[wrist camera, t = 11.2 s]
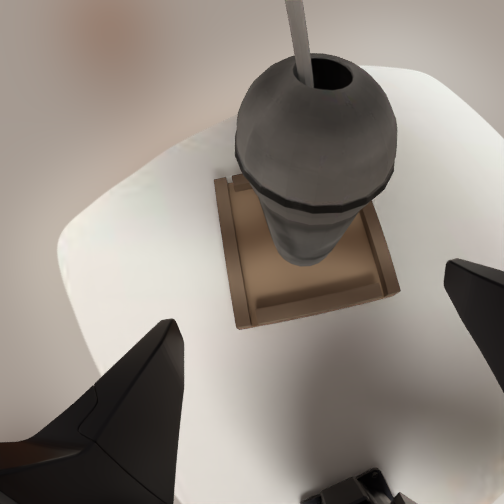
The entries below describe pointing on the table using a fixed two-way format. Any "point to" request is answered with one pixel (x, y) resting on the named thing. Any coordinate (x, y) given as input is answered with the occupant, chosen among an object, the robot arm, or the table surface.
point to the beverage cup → (314, 145)
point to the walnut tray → (292, 276)
